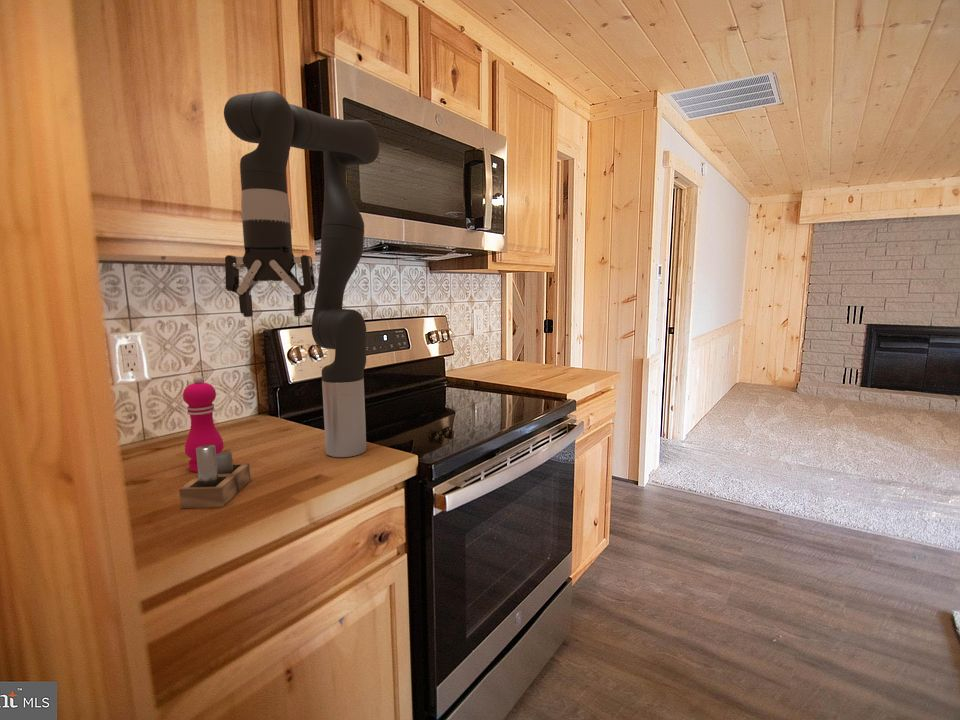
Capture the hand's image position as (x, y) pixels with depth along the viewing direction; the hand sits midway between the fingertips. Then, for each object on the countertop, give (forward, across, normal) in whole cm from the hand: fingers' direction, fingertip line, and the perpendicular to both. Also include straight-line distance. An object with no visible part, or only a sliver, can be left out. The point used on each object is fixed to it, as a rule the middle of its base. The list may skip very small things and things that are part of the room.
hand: (273, 316), depth 84 cm
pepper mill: (+33, +22, -16) cm, 43 cm away
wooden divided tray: (+33, +13, -2) cm, 36 cm away
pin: (+33, +13, +1) cm, 36 cm away
